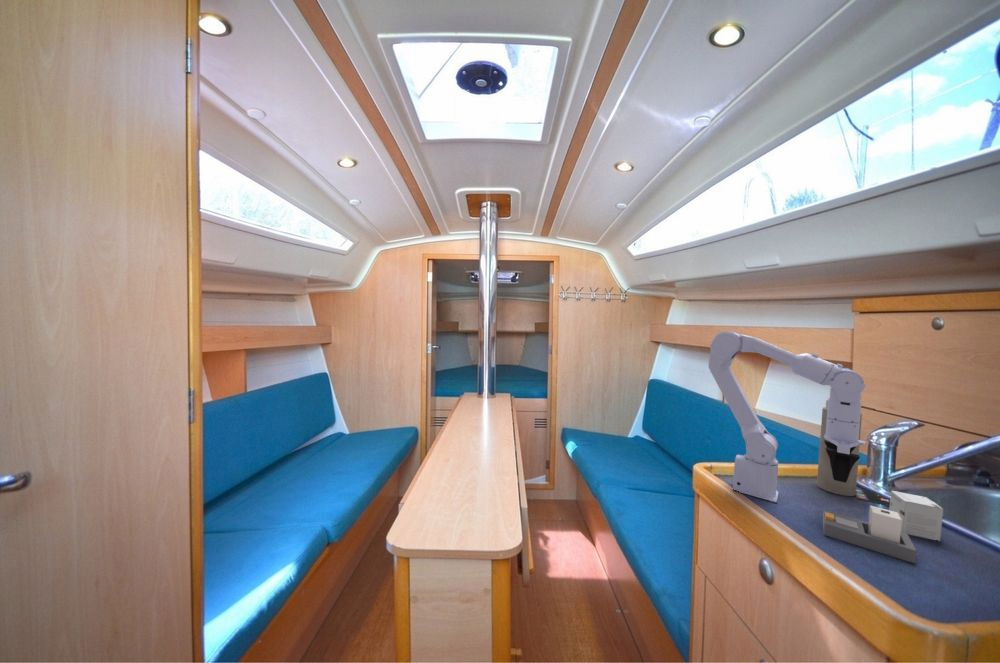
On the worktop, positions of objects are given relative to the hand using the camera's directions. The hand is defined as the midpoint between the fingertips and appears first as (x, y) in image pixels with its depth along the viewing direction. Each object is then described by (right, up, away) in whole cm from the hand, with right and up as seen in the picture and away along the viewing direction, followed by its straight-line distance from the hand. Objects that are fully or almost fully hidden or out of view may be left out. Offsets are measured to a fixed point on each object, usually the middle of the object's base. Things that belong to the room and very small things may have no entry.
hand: (838, 476), depth 86 cm
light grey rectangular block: (-2, -10, -12) cm, 15 cm away
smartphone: (+22, -11, +8) cm, 26 cm away
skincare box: (+12, -11, -5) cm, 17 cm away
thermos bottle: (+13, -10, +15) cm, 22 cm away
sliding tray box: (-4, -10, -10) cm, 14 cm away
